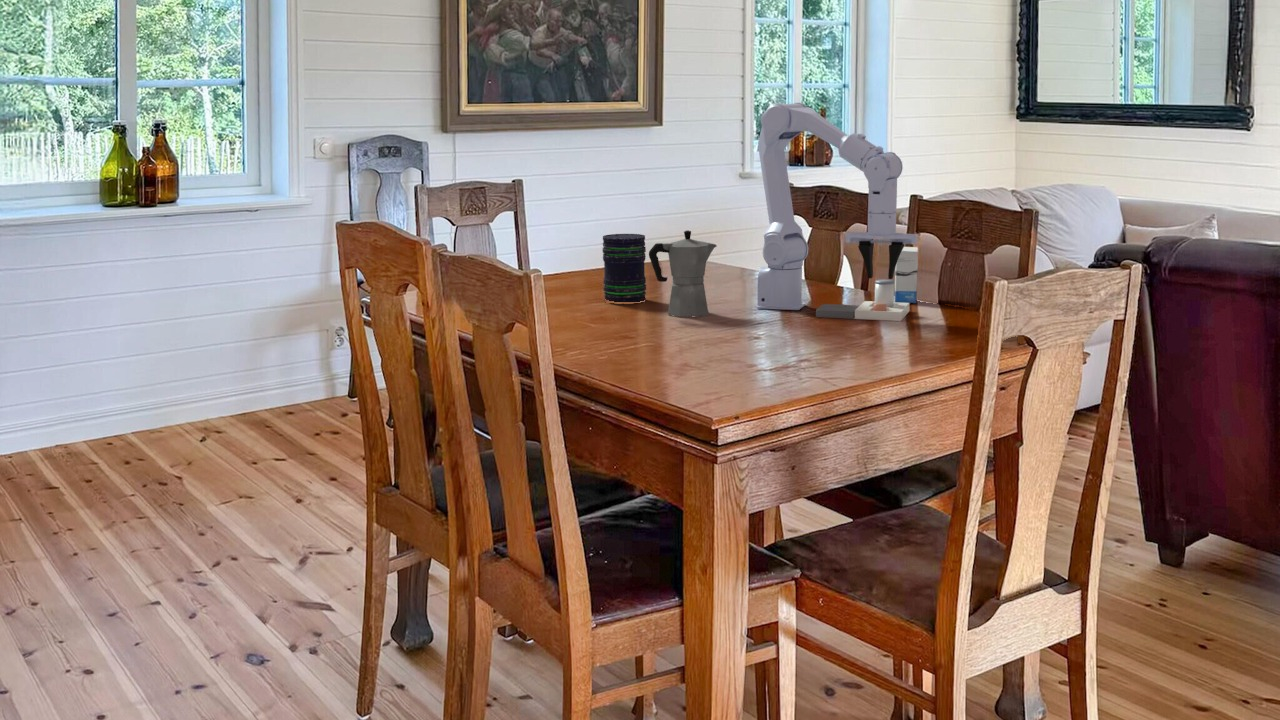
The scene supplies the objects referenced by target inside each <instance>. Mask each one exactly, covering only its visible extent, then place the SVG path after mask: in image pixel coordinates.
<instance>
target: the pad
mask: <svg viewBox="0 0 1280 720" xmlns="http://www.w3.org/2000/svg"><path fill="white" fill-rule="evenodd" d="M860 305H861V304H860ZM860 305H859V304H839V303H838V304H837V303H836V304H835V303H823V304H822V305H820V306H819V307H817V309H815V318H830V319H850V320H855V310H856V309H857V308H858V307H859V306H860Z"/></svg>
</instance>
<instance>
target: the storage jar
mask: <svg viewBox="0 0 1280 720" xmlns="http://www.w3.org/2000/svg"><path fill="white" fill-rule="evenodd" d="M645 240H646V235H644V234H641V233H640V234H639V233H614V234H605V235H603V236H602V241H603V242H602V261H603V263H604V264H603V266H604V277H603V280H602V281H603V286H602V288H603V296H604V298H605V299H606V300H609V301H614V302H640V301H644V300H646V301H647V298H646V294H647V292H646V290H647V284H646V283H647V282H646V280H647V277H646V276H645V273H646V272H645V270H646V269H645V261H646V257H647V256H646V251H647V248H646V242H645Z"/></svg>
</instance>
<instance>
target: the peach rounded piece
mask: <svg viewBox="0 0 1280 720" xmlns="http://www.w3.org/2000/svg"><path fill="white" fill-rule="evenodd" d="M873 311H887V304H886V303H873Z"/></svg>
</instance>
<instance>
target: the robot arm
mask: <svg viewBox="0 0 1280 720" xmlns="http://www.w3.org/2000/svg"><path fill="white" fill-rule="evenodd" d="M760 123H761V124H760V125H761V129H760V133H759V137H758V141H757V148H758V155H759V161H760V168H761V175H762V181H763V189H764V194H765V202H766V209H767V210H766V211H767V215H768V216H767V217H768V222H769V225H768V226H767V228H766V231H765V232H764V234H763V238H764V240H763V241H764V244H763V248H762V257H763V260H764V261H765V263H766V264H767V266H761V267H760V268H759V270H758V273H757V306H756V309H763V310H765V309H767V310H784V311H786V310H787V311H800V309H802V308H803V307H805V306H806V305H807V302H804V301H803V300H802V299H803V298H802V294H803V293H802V291H803V289H802V288H803V287H802V285H803V283H802V282H803V264H804V261H805V259H807V257H808V254H809V244H808V242H807V240H806V239H805V237H804V234H803V229H802V227H801V226H800V225H799V224H798V223H797V222H796V221H795V214H794V208H793V202H792V201H793V200H792V193H791V187H790V180H789V179H790V178H789V173H788V168H787V161H786V160H787V159H786V154H785V153H786V152H785V149H786V148H787V147H788V145H789V144H790V142H791V141H792V140H793V139H794V138H795V137H797V136H799V135H800V134H801V133H803V132H809V133H810V134H812V135H814V136H816V137H817V138H819V139H821V140H823V141H824V142H826V143H828V144H830V145H831V146H834V147H835V148H837V149H838V155H839V157H840V158H841V159H843V160H844V161H845V162H847V163H849V164H850V165H852V166H854V167H855V168H857V169H859V171H861V172H863V174H864V177H865V179H866V180H867V182H868V183H867V185H868V199H867V201H868V202H867V203H868V204H867V205H868V206H867V207H868V208H867V209H868V210H867V232H846V233H845V244H846V243H847V244H850V243H858V250H859V252H860V254H861V257H862V259H863V262H864V265H865V269H866V273H867V275H866V276H867V279H872V278H873V277H874V262H873V261H874V260H873V259H874V248H875V247H874V246H875V244H889V246H888V254H889V256H888V257H889V258H888V259H889V264H888V274H887V275H888V277H887V280H893V279H894V277H895V267H896V264H897V261H898V258H899V256H900V254H901V251H902V249H903V247H905V245H913V246H914V245H918V239H919V235H918V234H917V233H915V234H914V233H900V232H897V231H896V230H897V205H898V204H897V203H898V201H897V198H898V178H899V177H900V176H901V175H902V173H903V169H904V167H903V162H902V159H901V158H900V157H899V156H898V155H897V154H896V153H895V152H893V151H887V152H884V148H883V146H881V145H880V146H879V145H876V144H873V143H872V142H870V141H868V140H867V139H866V135H865V134H863V133H855V132H853V133H851V134H847V133H846V132H844V131H842V130H841V129H840V128H838V127H837V126H836V125H834V124H833V123H831V122H830V121H829V120H827V119H826V118H825V117H823V116H822V115H820V114H819V113H817V112H816V110H815V109H814V108H812V107H808V106H807V105H806V104H805V103H803V102H793V103H772V104H770V105H769V106H768V107H767V109H766V110H765V111H764V112H763V114H762V115H761V116H760Z"/></svg>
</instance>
